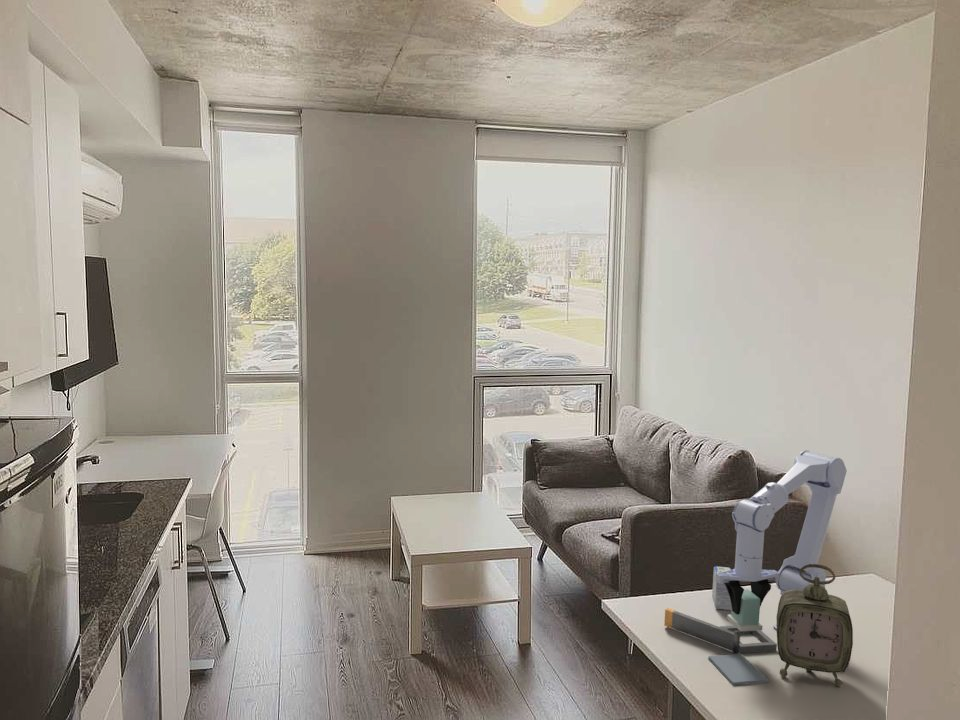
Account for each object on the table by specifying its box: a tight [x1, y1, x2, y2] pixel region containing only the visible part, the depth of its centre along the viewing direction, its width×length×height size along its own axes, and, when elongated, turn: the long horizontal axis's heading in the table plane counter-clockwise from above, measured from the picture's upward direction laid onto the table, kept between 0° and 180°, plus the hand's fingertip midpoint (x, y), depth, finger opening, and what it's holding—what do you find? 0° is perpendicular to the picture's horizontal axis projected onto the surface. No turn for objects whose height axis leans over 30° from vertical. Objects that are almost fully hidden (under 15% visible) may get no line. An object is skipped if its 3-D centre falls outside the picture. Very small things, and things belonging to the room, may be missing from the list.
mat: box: [707, 653, 769, 686], centre depth 164 cm, size 8×11×1 cm
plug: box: [726, 589, 763, 631], centre depth 170 cm, size 5×6×7 cm
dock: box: [719, 625, 778, 654], centre depth 177 cm, size 9×10×2 cm
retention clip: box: [664, 607, 741, 654], centre depth 177 cm, size 1×19×5 cm, turn 46°
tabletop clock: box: [775, 564, 854, 688], centre depth 161 cm, size 14×9×25 cm, turn 70°
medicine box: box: [711, 566, 732, 611], centre depth 197 cm, size 8×4×9 cm, turn 168°
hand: (745, 612), depth 170 cm, fingers closed on plug, 4 cm apart
